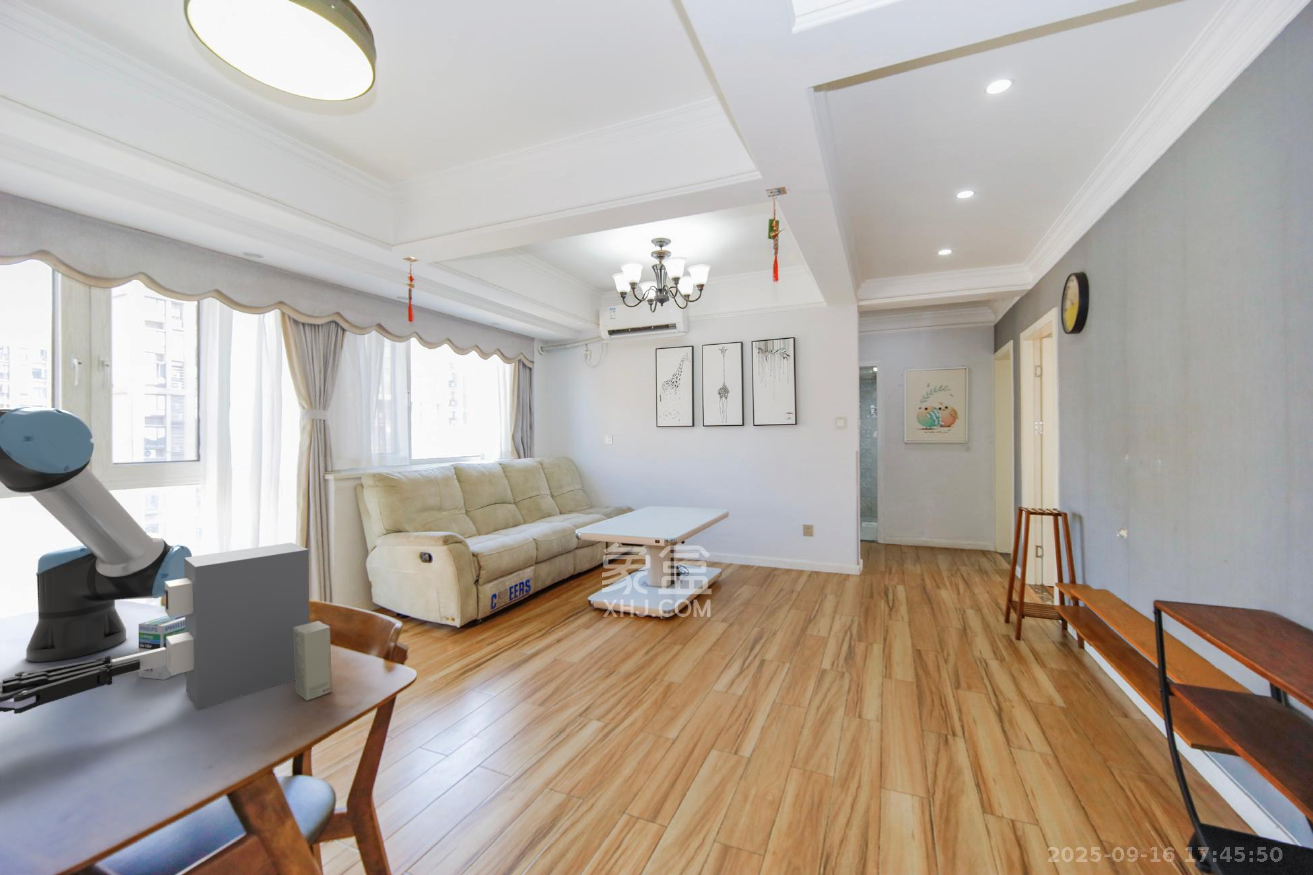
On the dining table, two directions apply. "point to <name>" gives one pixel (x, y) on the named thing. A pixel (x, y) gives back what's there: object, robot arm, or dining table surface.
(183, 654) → the plain button
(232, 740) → the dining table surface
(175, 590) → the white protruding block
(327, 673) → the skincare box
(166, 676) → the light bulb box
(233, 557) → the grey upright slab
